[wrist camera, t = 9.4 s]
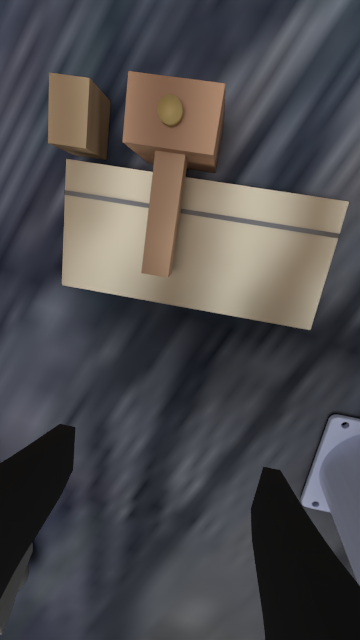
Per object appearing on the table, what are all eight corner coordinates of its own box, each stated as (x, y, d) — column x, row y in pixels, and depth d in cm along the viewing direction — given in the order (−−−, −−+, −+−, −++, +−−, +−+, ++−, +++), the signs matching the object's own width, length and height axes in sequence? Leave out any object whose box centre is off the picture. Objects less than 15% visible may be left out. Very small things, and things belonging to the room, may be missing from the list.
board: (335, 204, 18) (349, 201, 16) (301, 320, 20) (310, 330, 18) (81, 165, 19) (65, 158, 17) (76, 279, 21) (61, 285, 19)
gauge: (224, 121, 17) (225, 76, 12) (198, 270, 20) (190, 287, 15) (153, 112, 18) (124, 64, 12) (137, 259, 20) (107, 272, 15)
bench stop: (110, 101, 18) (89, 77, 15) (106, 159, 19) (85, 148, 16) (76, 97, 18) (49, 72, 15) (74, 155, 19) (48, 142, 16)
